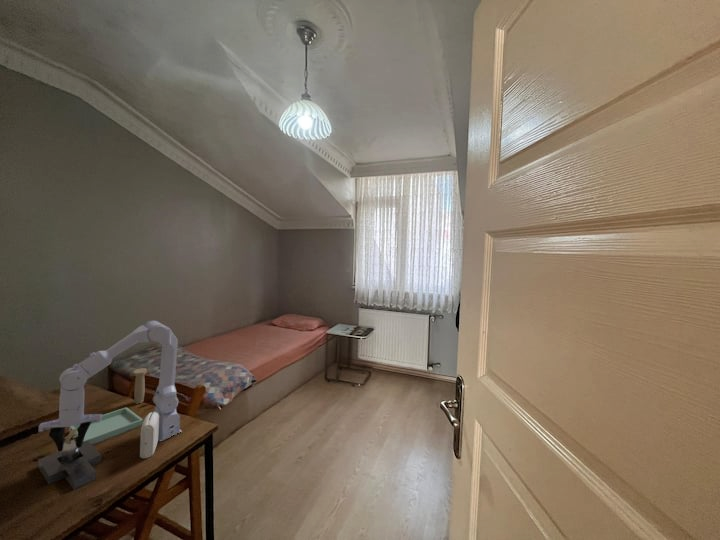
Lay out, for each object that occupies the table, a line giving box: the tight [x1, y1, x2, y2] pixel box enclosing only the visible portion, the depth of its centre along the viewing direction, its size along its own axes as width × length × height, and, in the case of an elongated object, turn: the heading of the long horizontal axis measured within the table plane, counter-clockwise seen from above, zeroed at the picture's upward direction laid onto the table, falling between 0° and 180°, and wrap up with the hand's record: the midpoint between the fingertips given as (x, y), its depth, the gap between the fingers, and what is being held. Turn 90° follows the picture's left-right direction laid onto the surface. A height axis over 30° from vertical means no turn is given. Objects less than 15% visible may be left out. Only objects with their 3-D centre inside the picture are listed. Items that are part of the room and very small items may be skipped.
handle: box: [133, 367, 148, 405], centre depth 135 cm, size 5×6×15 cm
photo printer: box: [139, 411, 159, 459], centre depth 104 cm, size 10×4×12 cm, turn 25°
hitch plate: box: [37, 441, 102, 490], centre depth 92 cm, size 20×12×2 cm, turn 58°
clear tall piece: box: [61, 429, 79, 463], centre depth 94 cm, size 6×4×8 cm, turn 29°
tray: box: [68, 406, 144, 446], centre depth 114 cm, size 16×18×2 cm
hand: (70, 447), depth 94 cm, fingers closed on clear tall piece, 4 cm apart
